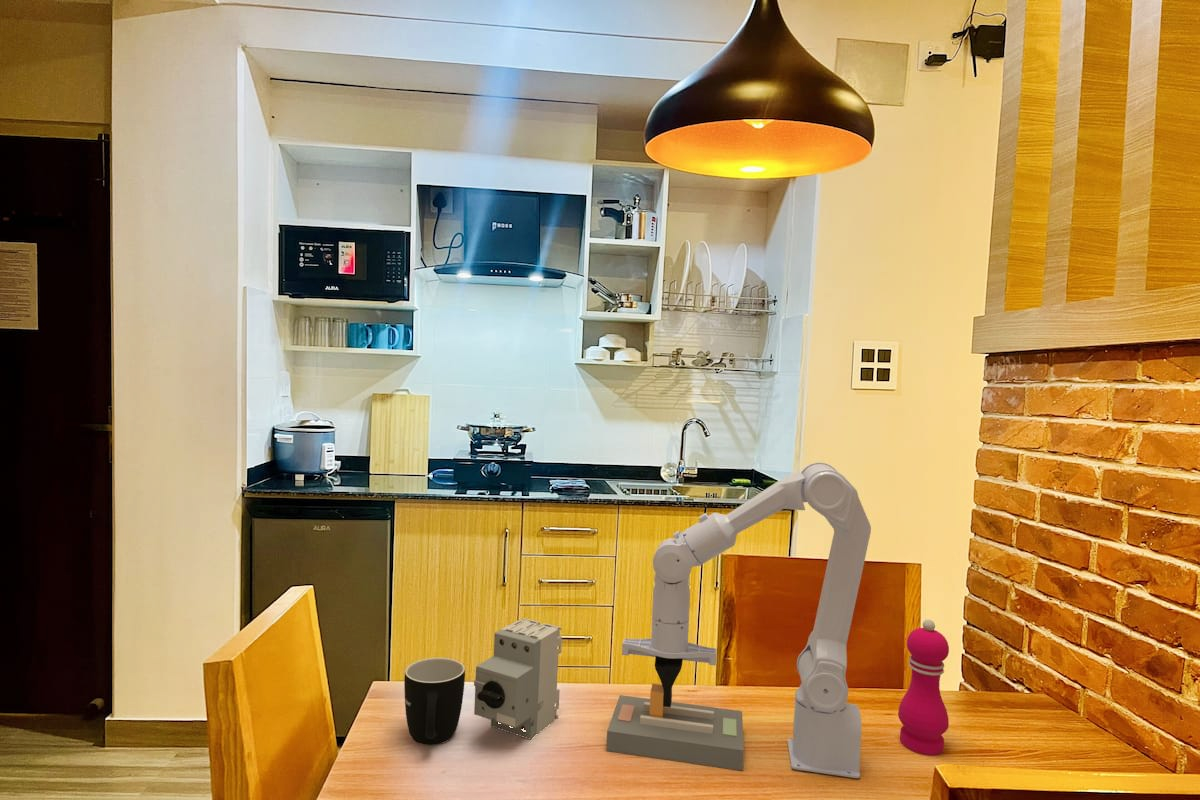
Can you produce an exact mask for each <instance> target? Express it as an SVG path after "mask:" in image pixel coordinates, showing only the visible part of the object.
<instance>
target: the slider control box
mask: <svg viewBox="0 0 1200 800" xmlns="http://www.w3.org/2000/svg"><path fill="white" fill-rule="evenodd" d="M617 699H618V700H617V702H616V705H615V708H614V711H613V714H612V716H611V719H610V722H609V725H608V727H607V731H606V747H605V748H606V750H605V751H606V752H614V753H619V754H627V755H632V756H633V755H634V756H639V757H646V758H653V759H660V760H661V759H662V760H667V761H673V762H681V763H688V764H695V765H702V766H709V767H715V768H720V769H721V768H723V769H729V770H735V771H741V772H742V771H743V770H744V756H745V755H744V751H745V747H744V725H743V724H744V723H743V721H744V719H743V710H736V709H730V708H729V709H728V708H722V707H716V706H715V707H713V706H707V705H699V704H698V705H697V704H692V703H690V704H689V703H684V702H676V701H672V702H671V707H664V715H663V718H659V717H652V716H649V714H650V698H646V697H645V698H644V697H639V696H629V695H624V694H619V696H618V698H617Z"/></svg>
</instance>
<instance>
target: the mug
mask: <svg viewBox="0 0 1200 800" xmlns="http://www.w3.org/2000/svg"><path fill="white" fill-rule="evenodd" d="M465 679H466V667H465V665H464V664H463V663H462V662H460V661H458V659H457V660H456V659H453V658H448V657H430V658H424V659H420V660H417V661H415V662H413V663H410V664H409V665H408V666H407V667H406V669H405V670H404V681H403V682H404V684H403V685H404V705H405V717H406V724H407V728H408V732H409V735H410V738H411V739H412V740H413V741H414V742H416V743H418V744H419V745H422V746H435V745H440V744H443V743H446V742H448V741H449V740H451V739H452V738H453V736H454V735H455V733H456V731H457V729H458V726H459V725H458V724H459V722H460V717H461V711H462V707H463V699H464V691H465V681H466V680H465ZM447 740H448V741H447Z"/></svg>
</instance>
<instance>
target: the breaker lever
mask: <svg viewBox="0 0 1200 800" xmlns="http://www.w3.org/2000/svg"><path fill="white" fill-rule="evenodd" d="M663 696H664V690H663V686H662V684H660V683H659V684H658V683H651V688H650V695H649V699H650V714H649V716H652V717H659V718H663V715H664V707H663Z"/></svg>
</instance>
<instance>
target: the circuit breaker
mask: <svg viewBox="0 0 1200 800" xmlns="http://www.w3.org/2000/svg"><path fill="white" fill-rule="evenodd" d="M561 630H562V626H557V625H554V624H549V623H546V622H544V623H541V622H540V621H536V620H533V619H529V618H525V617H522V618H521V619H518V620H517V621H515V622H513V623H510V624H508V625H506V626H505V627H503V628H501V629H499V630H497V631H495V632H494V637H493V638H494V640H493V642H494V643H493V656H491V657H490V658H488V659H486V660H484V661H483V662H481V663H479V664H477V665H476V666H475V680H474V682H473V686H474V710H473V711H474V712H473V714H474V715H476V716H477V717H482V718H485V719H487V720H490V726H491V727H492V726H495V727H497V728H496V729H498V728H500V729H499V730H501V729H503V730H502V731H504V730H506V731H505V732H507V731H509V732H508V733H510V732H512V733H511V734H513V733H514V734H513V735H516V734H518V735H517V736H519V735H521V736H520V737H522V736H524V737H523V738H525V737H527V738H526V739H528V738H530V739H529V740H533V739H534V738H535V737H536V736H537V735H536V734H538V733H539V732H540V731H541V732H542V731H544V730H545V729H546V728H547V727H549V726H550V725H552V723H554V722H555V719H558V718H559V714H558V713H557V712H558V711H557V710H558V709H560V691H561V690H560V689H558V670H559V669H558V668H559V654H561V653H562V646H563V645H562V643H563V636H562V635H561V634H560V633H561V632H560V631H561ZM553 721H554V722H553ZM498 722H499V723H501V724H498ZM549 724H550V725H549ZM548 725H549V726H548ZM509 726H511V727H513V728H510V727H509ZM495 727H494V728H495ZM545 727H546V728H545ZM523 728H524V730H526V732H523V731H522V730H521V729H523ZM544 728H545V729H544ZM543 729H544V730H543ZM541 732H540V733H541ZM540 733H539V734H540ZM539 734H538V735H539ZM535 735H536V736H535ZM534 736H535V737H534ZM533 737H534V738H533ZM532 738H533V739H532Z"/></svg>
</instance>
